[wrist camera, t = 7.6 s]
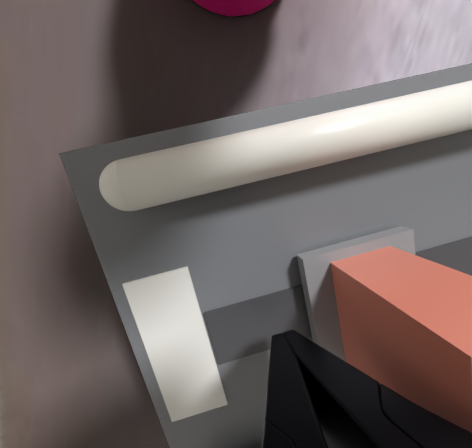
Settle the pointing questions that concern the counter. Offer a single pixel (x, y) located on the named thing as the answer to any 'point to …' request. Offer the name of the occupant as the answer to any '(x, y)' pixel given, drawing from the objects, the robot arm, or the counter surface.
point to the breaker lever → (395, 318)
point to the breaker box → (264, 230)
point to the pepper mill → (234, 6)
